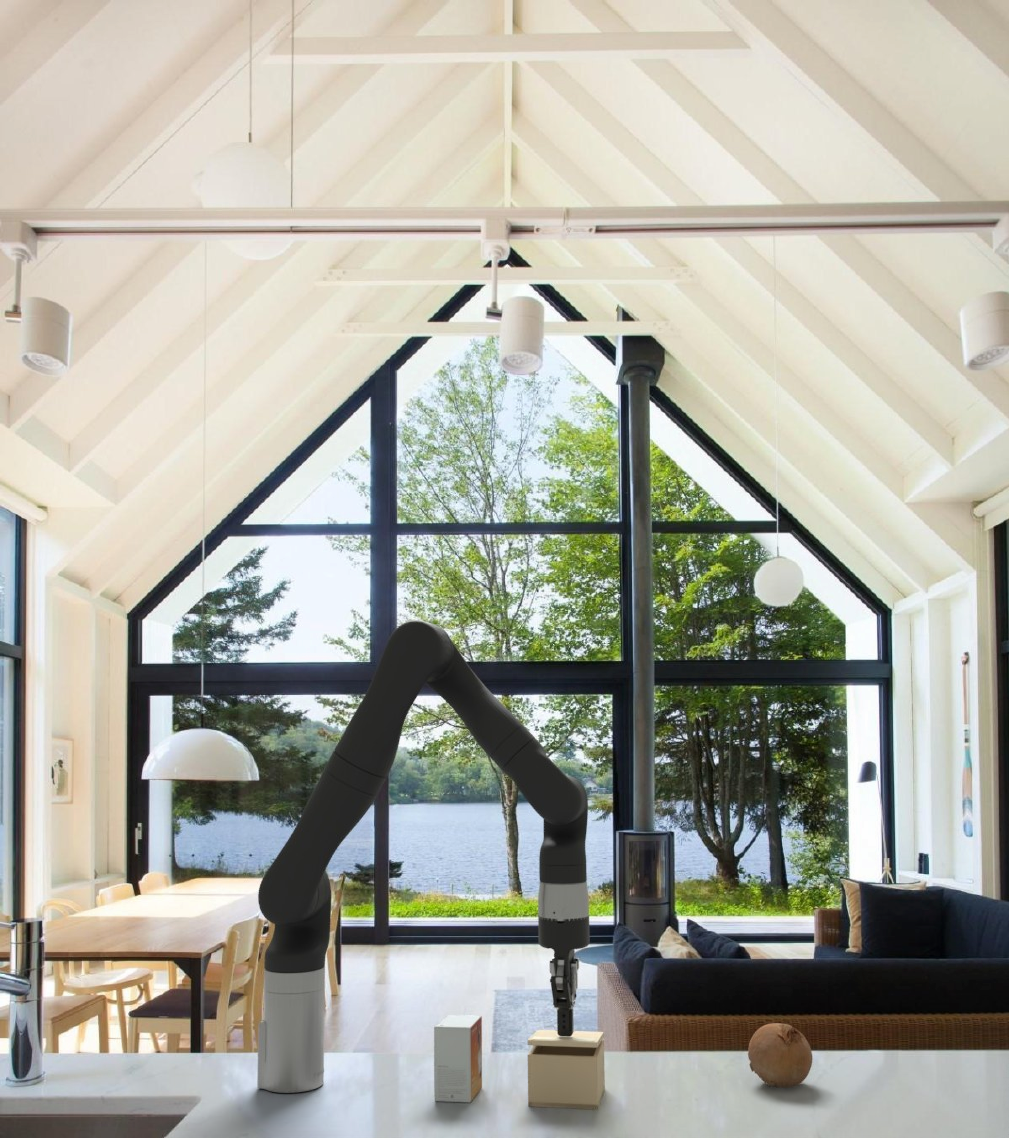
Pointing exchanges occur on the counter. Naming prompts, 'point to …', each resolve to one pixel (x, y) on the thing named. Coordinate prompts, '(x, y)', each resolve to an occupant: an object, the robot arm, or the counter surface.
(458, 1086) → the small box
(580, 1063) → the carton
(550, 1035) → the lid
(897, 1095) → the counter surface
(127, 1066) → the counter surface
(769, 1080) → the onion
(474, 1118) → the counter surface
